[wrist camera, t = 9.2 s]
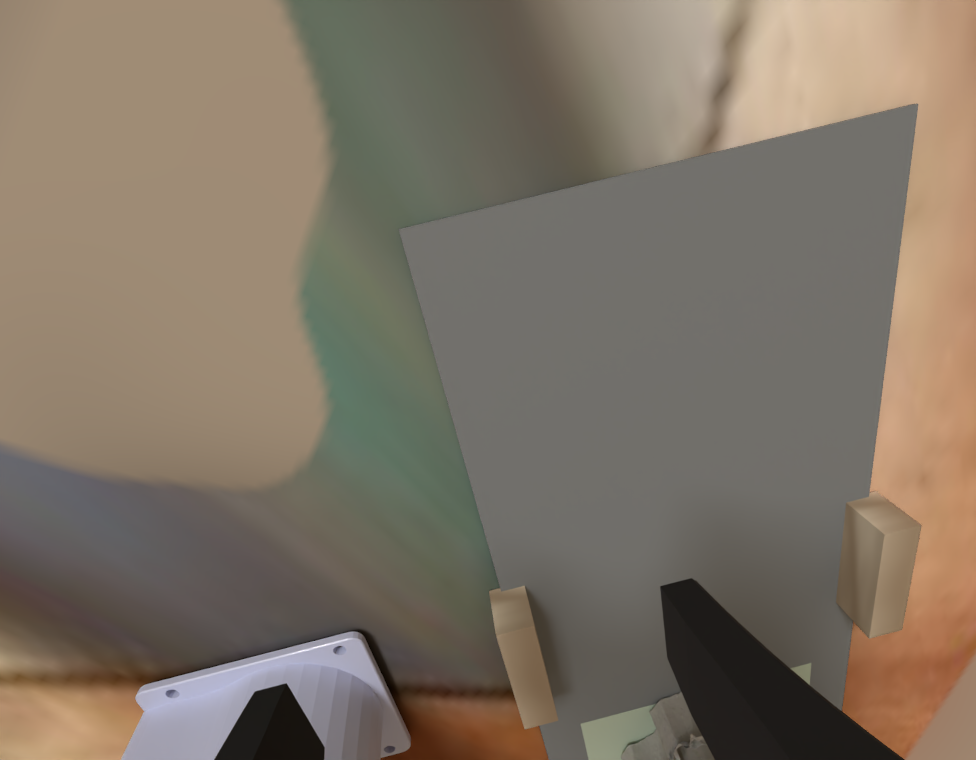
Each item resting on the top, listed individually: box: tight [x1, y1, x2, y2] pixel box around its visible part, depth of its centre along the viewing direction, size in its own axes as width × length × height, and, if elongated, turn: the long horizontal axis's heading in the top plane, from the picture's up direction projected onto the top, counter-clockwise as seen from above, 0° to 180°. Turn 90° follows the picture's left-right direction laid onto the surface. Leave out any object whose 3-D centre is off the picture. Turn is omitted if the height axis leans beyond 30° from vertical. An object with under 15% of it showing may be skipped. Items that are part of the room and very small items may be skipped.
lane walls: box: [489, 491, 922, 729], centre depth 22 cm, size 17×6×2 cm, turn 102°
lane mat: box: [399, 104, 918, 760], centre depth 23 cm, size 16×37×1 cm, turn 12°
